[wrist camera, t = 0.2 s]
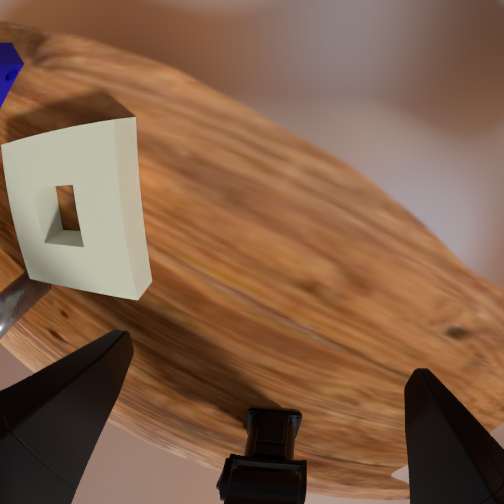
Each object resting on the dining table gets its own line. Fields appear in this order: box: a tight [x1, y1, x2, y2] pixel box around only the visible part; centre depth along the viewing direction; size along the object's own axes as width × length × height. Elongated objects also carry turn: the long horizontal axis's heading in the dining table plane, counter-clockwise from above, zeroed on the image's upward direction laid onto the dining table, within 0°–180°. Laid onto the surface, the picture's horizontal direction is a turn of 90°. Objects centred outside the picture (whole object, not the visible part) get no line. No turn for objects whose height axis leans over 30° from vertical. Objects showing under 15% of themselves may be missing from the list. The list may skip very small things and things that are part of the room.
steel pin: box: [0, 271, 51, 339], centre depth 22 cm, size 4×4×13 cm
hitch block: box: [1, 117, 152, 300], centre depth 22 cm, size 14×14×3 cm
